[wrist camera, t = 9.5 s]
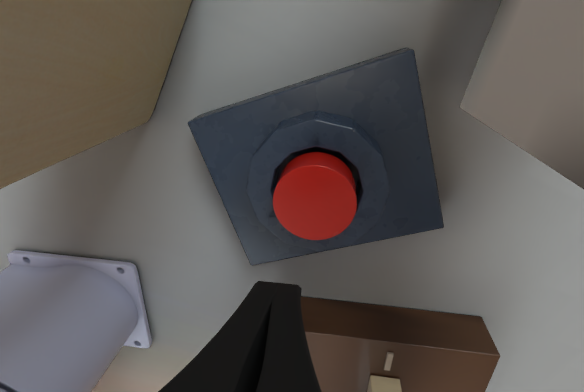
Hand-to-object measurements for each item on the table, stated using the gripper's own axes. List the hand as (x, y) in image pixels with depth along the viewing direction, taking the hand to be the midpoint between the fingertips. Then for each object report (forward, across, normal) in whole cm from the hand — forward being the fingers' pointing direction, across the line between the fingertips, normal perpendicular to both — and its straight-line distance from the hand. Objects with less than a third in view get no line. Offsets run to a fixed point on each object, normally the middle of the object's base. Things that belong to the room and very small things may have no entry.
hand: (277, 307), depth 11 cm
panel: (+10, -5, +14) cm, 18 cm away
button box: (+10, -1, -1) cm, 10 cm away
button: (+7, -1, -1) cm, 7 cm away
